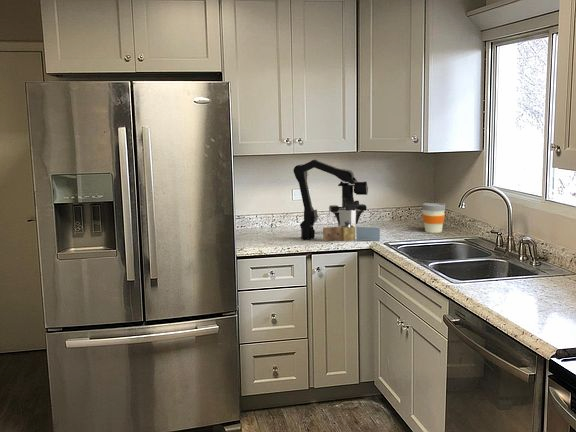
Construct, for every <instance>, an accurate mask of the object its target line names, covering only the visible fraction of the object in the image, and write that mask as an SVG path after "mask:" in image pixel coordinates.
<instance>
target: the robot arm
mask: <svg viewBox="0 0 576 432" xmlns="http://www.w3.org/2000/svg"><path fill="white" fill-rule="evenodd" d="M313 169H318V170H319V171H322V172H325V173H327V174H330V175H332V176H334V177H336V178H337V179H339V180H341V181H340V183H338V184H337V186H338V187H341V206H342V207H338V206H339V205H336V204H335V205H334V204H332V205H331V204H330V205H329V207H328V210H329V212H331V213H332V214H334V216H335V218H336V221H337V225H338V224H339V225H340V219H339V212H338V211H339V210H347V211H349V210H353V211H354V210H355V209H356V214H355V225H358V223H359V221H360V217H361V215H362V214H363V213H365V211H367V209H368V208H367V205H366V204H363V203H360V201H359V200H355V199H354V198H355V197H354V194H355V195H358V196H361V195H363V196H365V195H366V196H368V193H369V187H368V182H367V181H358V180H357V179H356V178H355V175H354V173H353V172H354V171H352V170H350V169H345V168H339V167H335V166H333V165H331V164H328V163H325V162H322V161H320V160H318V159H312V160H310V161H309V162H307V163H306V162H305V163H304V164H297V165H296V166H294V168H293V171H292V172H293V174H294V177H295V179H296V180H297V182H298V186H299V190H300V195H301V200H302V205H303V208H304V209H303V220H302V222H301V223H300V224H299V226H300V232H301V233H300V235H301V236H300V239H301V240H315V237H316V233H315V228H314V226H315V224H316V223H317V221H318V217H319V214H318V209H315V208H314V207H313V203H312V199H311V195H310V190H309V185H308V171H310V170H313Z"/></svg>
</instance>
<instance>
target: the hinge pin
mask: <svg viewBox="0 0 576 432" xmlns="http://www.w3.org/2000/svg"><path fill="white" fill-rule="evenodd" d="M344 223H345V227H351V221H345V222H344Z"/></svg>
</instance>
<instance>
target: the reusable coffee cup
mask: <svg viewBox="0 0 576 432" xmlns="http://www.w3.org/2000/svg"><path fill="white" fill-rule="evenodd" d="M421 210H422V220H423V221H422V222H423V224H424V231H425V232H426V233H433V234H436V233H437V234H438V233H442V232H443V227H444V226H443V225H444V222H445V217H446V214H445V211H446V203H441V202H425V203H422V207H421Z"/></svg>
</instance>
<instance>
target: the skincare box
mask: <svg viewBox="0 0 576 432" xmlns="http://www.w3.org/2000/svg"><path fill="white" fill-rule="evenodd" d="M337 206H338V207H342V205H337ZM356 210H357V209H355V210H354V211H353V210H349V211H347V210H339V211H338V212H339V219H340V225H339V224H338V223H337V227H341V226H345V223H344V222H345V221H351V225H352V226H354V227H355V228H356Z"/></svg>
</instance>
